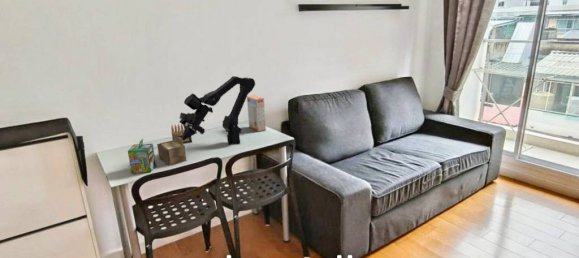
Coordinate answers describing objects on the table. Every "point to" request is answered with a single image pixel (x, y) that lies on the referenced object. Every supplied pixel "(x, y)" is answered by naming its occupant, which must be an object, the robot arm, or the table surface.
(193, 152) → the table surface
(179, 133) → the ammunition clip
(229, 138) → the robot arm
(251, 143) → the table surface
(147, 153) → the chalk box
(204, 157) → the table surface
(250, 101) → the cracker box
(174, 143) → the lid
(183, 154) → the walnut box
